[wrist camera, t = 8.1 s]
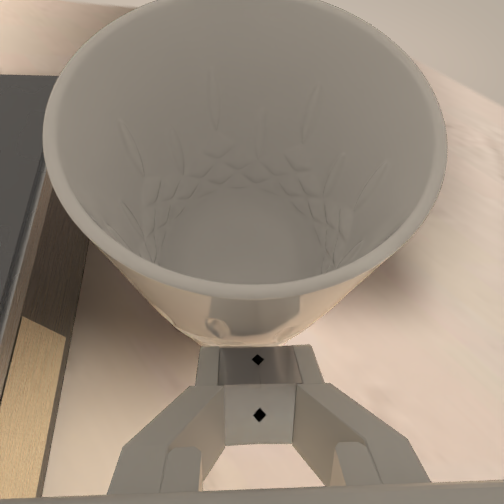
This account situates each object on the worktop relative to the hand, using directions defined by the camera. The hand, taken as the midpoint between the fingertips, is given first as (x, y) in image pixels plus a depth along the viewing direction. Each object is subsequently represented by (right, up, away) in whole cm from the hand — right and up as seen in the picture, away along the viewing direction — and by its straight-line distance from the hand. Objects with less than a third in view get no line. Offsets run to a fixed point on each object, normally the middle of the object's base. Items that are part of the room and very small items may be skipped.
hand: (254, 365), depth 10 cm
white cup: (-1, +2, +6) cm, 7 cm away
